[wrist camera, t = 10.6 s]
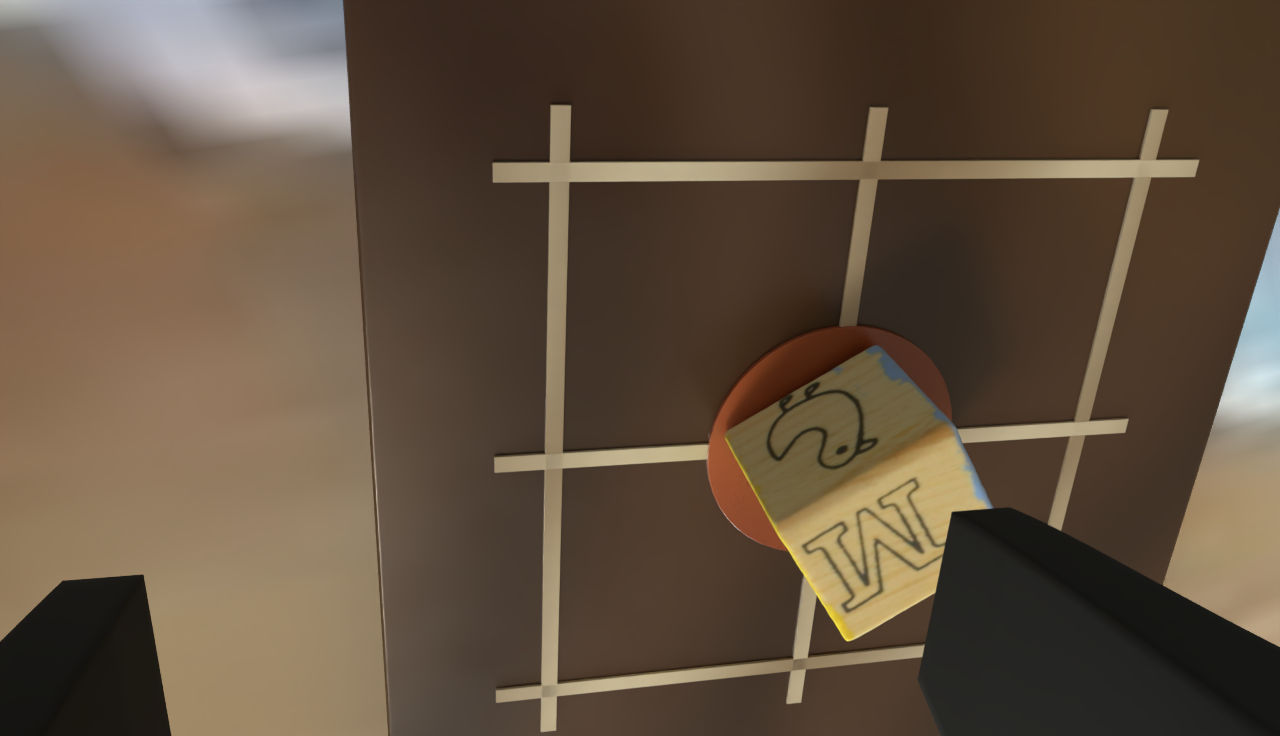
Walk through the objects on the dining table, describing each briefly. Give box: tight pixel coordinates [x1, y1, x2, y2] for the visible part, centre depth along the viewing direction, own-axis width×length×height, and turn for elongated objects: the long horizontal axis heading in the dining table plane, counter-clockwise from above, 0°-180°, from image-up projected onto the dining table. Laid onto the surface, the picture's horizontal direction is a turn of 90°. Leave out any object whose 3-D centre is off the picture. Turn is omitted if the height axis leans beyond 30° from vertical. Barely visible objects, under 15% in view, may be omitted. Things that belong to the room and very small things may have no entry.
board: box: [343, 0, 1280, 736], centre depth 20 cm, size 16×20×1 cm
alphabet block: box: [725, 345, 993, 641], centre depth 18 cm, size 3×3×3 cm
